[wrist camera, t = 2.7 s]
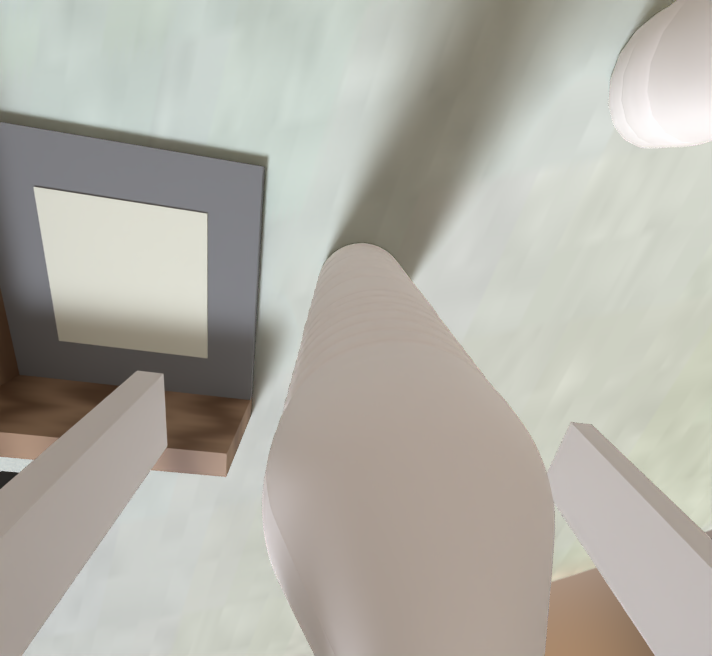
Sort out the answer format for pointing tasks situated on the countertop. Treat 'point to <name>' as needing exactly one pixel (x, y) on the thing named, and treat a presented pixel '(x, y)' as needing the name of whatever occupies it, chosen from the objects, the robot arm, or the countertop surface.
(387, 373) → the water bottle
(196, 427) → the corner walls
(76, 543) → the robot arm
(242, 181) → the mat
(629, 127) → the bottle
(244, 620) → the countertop surface
